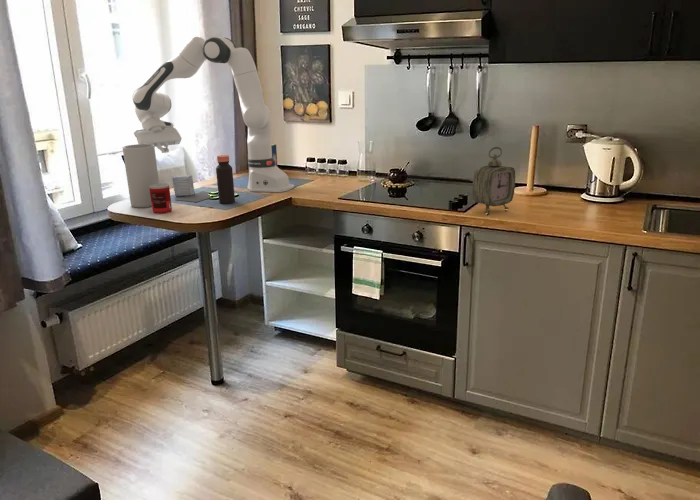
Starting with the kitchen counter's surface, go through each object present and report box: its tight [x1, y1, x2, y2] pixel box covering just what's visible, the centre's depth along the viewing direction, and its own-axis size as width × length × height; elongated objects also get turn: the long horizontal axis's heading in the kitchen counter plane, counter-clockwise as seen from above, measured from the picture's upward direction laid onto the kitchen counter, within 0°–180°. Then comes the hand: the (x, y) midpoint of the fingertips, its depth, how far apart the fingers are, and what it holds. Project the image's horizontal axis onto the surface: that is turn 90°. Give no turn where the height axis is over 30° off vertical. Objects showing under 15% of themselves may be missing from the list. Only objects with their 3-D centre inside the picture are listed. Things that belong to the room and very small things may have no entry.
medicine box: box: [171, 174, 195, 197], centre depth 259 cm, size 8×4×9 cm, turn 84°
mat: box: [175, 190, 212, 203], centre depth 257 cm, size 12×18×1 cm, turn 154°
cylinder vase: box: [122, 143, 160, 209], centre depth 241 cm, size 12×12×25 cm
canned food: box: [149, 182, 173, 215], centre depth 231 cm, size 8×8×11 cm
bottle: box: [215, 154, 236, 205], centre depth 242 cm, size 7×7×20 cm
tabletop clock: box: [472, 146, 516, 214], centre depth 216 cm, size 14×9×25 cm, turn 124°
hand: (165, 151), depth 264 cm, fingers closed
